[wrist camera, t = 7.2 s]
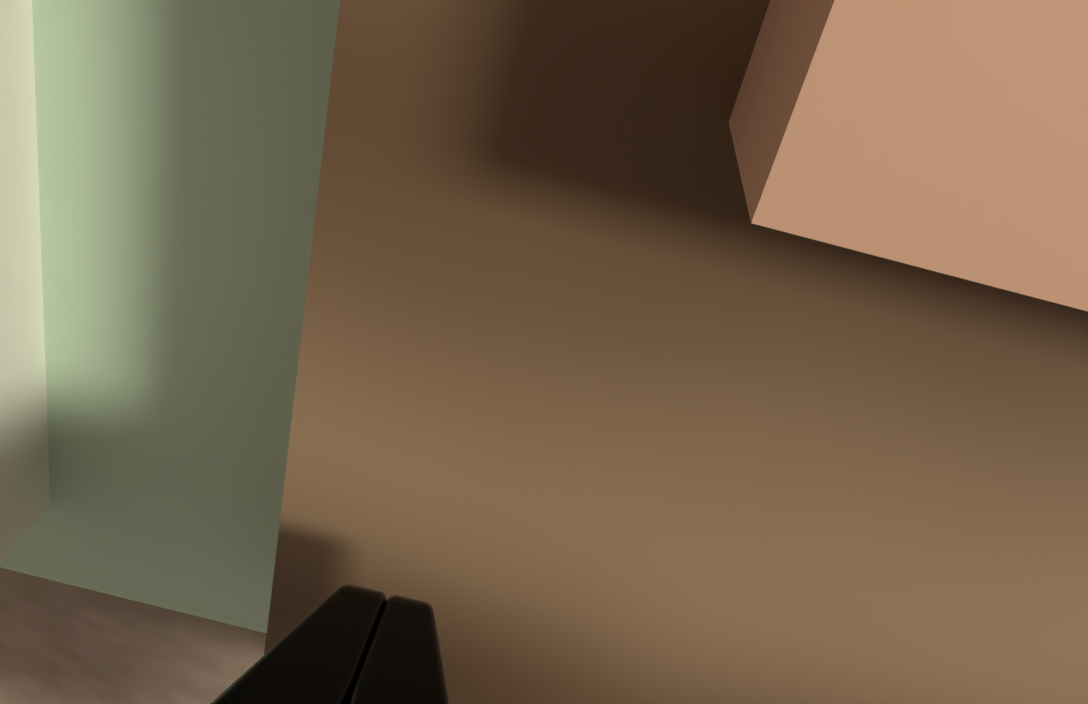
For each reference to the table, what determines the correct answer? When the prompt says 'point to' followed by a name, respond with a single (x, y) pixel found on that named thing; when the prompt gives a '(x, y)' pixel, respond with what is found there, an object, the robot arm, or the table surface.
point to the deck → (658, 392)
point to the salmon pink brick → (926, 135)
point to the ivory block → (20, 287)
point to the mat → (174, 289)
